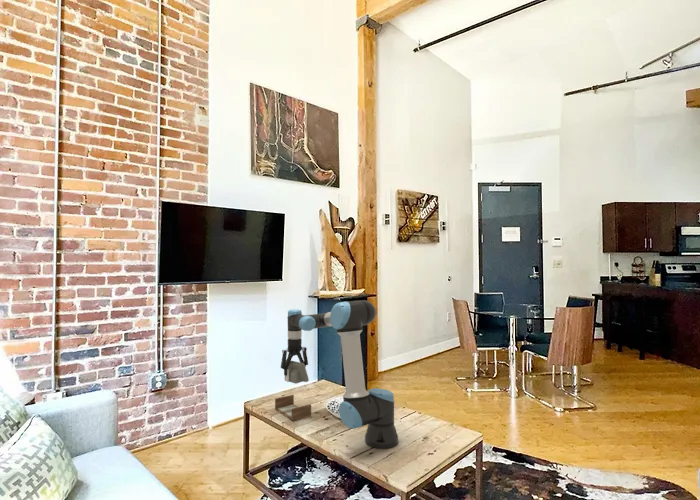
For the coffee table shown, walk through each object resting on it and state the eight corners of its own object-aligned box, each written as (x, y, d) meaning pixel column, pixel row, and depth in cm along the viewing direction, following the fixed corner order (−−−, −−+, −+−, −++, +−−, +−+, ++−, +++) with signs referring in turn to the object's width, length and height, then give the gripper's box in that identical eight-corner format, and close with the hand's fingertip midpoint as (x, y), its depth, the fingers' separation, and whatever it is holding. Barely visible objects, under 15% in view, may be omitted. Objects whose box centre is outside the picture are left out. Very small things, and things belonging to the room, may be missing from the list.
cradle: (311, 416, 217) (311, 404, 217) (292, 421, 210) (292, 409, 210) (292, 405, 233) (292, 394, 233) (275, 409, 227) (275, 398, 227)
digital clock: (310, 382, 219) (310, 362, 219) (295, 385, 213) (295, 365, 214) (294, 375, 232) (294, 356, 232) (280, 378, 226) (280, 359, 226)
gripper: (308, 334, 232) (308, 375, 231) (273, 339, 220) (273, 381, 220) (314, 337, 225) (314, 378, 225) (279, 341, 214) (279, 385, 213)
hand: (294, 379), depth 222 cm, fingers closed on digital clock, 8 cm apart
